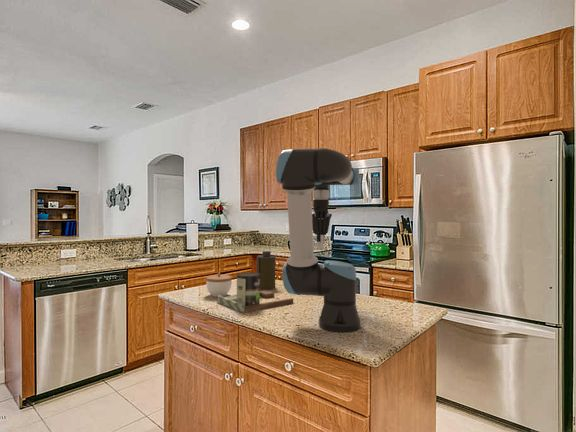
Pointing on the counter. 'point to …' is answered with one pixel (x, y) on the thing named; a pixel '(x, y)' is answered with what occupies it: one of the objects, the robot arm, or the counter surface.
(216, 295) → the lidded bowl
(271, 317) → the counter surface
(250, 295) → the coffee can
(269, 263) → the canister
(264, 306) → the trap lane
